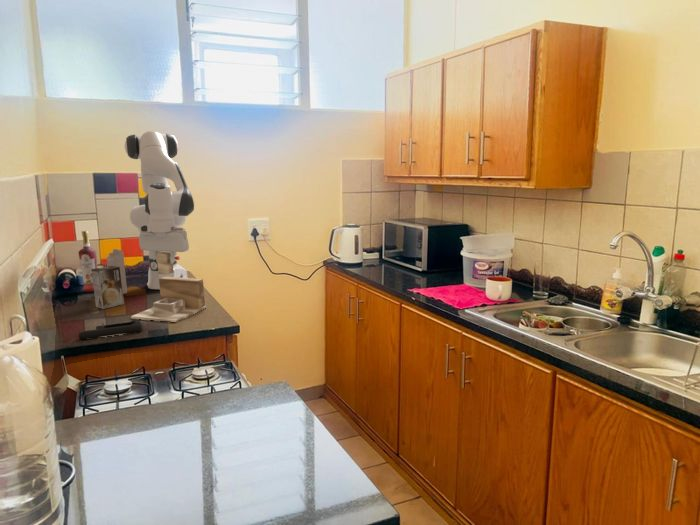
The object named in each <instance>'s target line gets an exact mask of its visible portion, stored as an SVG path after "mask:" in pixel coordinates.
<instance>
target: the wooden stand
mask: <svg viewBox="0 0 700 525" xmlns="http://www.w3.org/2000/svg"><path fill="white" fill-rule="evenodd" d="M159 284H160V289H159V292H160V293H159V294H160V300H157V301H155V302H153V303H152V307H150V308H148V309H146V310H142V311H140V312H138V313H135V314H133V315H130V319H132V320H139V319H141V320H142V321H150V320H154V321H153V322H160V321H171V322H176V321H179V320H181V319H183V318H185V319H187V318H189V317H192V316H194V315H196V314H198V313H200V312H202V311H204V310H206V309H207V306H206V303H205V291H204V290H205V289H204V278H190V277H187V278H178V277H163V278H160V279H159ZM205 308H206V309H205ZM203 309H204V310H203ZM201 310H202V311H201ZM199 311H200V312H199ZM197 312H198V313H197ZM195 313H196V314H195ZM193 314H194V315H193ZM191 315H192V316H191ZM188 316H189V317H188ZM186 317H187V318H186ZM183 320H184V319H183ZM181 321H182V320H181ZM179 322H180V321H179Z"/></svg>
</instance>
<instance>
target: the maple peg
mask: <svg viewBox="0 0 700 525" xmlns="http://www.w3.org/2000/svg"><path fill="white" fill-rule="evenodd" d="M170 257H171V254H170V252H160V253H157V262H158V274H170V273H174V268H173V263H168V259H169V258H170Z"/></svg>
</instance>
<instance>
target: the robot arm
mask: <svg viewBox="0 0 700 525" xmlns="http://www.w3.org/2000/svg"><path fill="white" fill-rule="evenodd" d="M179 148H180V146H179V142H178V140H177V138H176V136H175V135H174V134H170V133H160V132H157V131H154V130H151V131H146V132H144V133H141V134H130V135H128V136H127V137H126V138H125V142H124V150H125V153H126V154H127V156H128V158H130V159H133V160H138V159H139V160H140V173H141V175H140V176H141V186H142V191H143V192H144V194H146V195H145V196H144V197H143V200H144V204H140V205H136V206H133V207H132V208H131V210H130V212H129V220H130V222H131V224H132V225H133V226H134V227H136V228H137V229H138V231H139V232H140V233H139V236H138V244H139V248H140V250H141V251H146V252H148V259H147V260H148V261H147V262H148V266H149V268H148V273H147V274H148V275H147V277H148V278H147V279H148V281H147V283H146V286H147V288H148V289H150V290H160V284H159V279H160V278H163V277H178V278H188V273H187V272H188V271H187V270H186V269H185V268H184V267H183V266H181V265H180V264H179V263H178V261H179V260H180V258H181V257H180V255H177V253H186V252H188V251H189V249H190V244H189V239H188V233H187V230H186V228H185V229H184V228H183V227H182V226H183V225H184V224H185V222H186V220H187V217H188V216H189V215H190V214H192V213H193V212H194V210H195V200H194V197H193V195H192V193H191V191H190V190H189V187H188V185H187V182H186V180H185V177H184V175H183V172H182V169H181V167H180V165H179V164H178V162H176V161H174V160H173V158H175V157H176V156H177V155H178V152H179ZM168 179H169V180H170V181H172V182H173V184H174V187H175V189H176V190H175V191H172V190H171V186H170V184H169V181H168ZM160 252H170V254H171V257H170V258H169V259H168V263H173V268H174V273H170V274H158V262H157V253H160Z"/></svg>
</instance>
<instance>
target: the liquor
mask: <svg viewBox="0 0 700 525" xmlns="http://www.w3.org/2000/svg"><path fill="white" fill-rule="evenodd" d="M81 235H82V246H83V248H81V249H80V250H78V257H79V264H80V265H79V266H80V268H81V269H80V270H81V275H82V281H83V282H82V283H83V289H82V290H83V291H85V292H86V293H94V292H93V291H94V287H93V279H92V271H91V269H96V268H98V260H97V258H98V257H97V250H96V249H95V248H92V247H91V244H90V239H89V236H90V234H89V230H82V231H81Z"/></svg>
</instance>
